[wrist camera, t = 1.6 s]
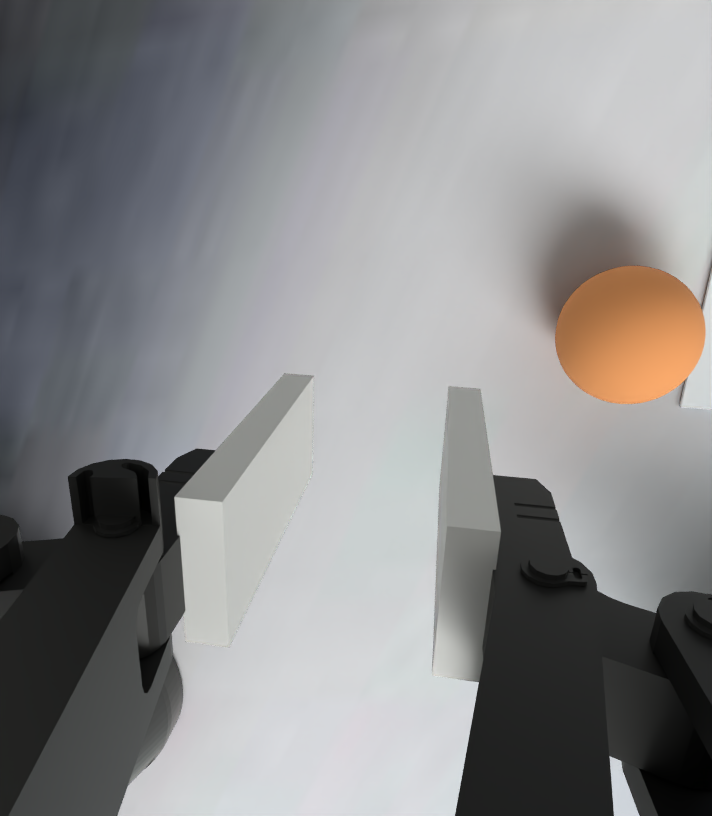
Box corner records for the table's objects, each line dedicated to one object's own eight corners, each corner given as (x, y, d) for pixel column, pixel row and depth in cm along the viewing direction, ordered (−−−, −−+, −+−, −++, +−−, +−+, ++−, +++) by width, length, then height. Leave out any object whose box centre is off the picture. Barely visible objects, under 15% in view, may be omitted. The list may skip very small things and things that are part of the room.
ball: (538, 376, 31) (557, 417, 25) (555, 255, 29) (581, 271, 23) (662, 385, 30) (710, 430, 25) (689, 261, 28) (748, 280, 23)
